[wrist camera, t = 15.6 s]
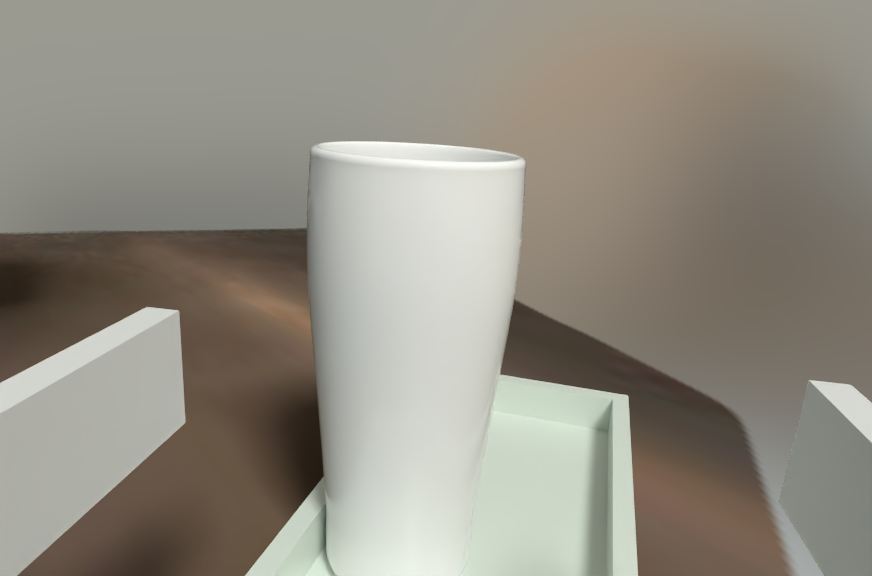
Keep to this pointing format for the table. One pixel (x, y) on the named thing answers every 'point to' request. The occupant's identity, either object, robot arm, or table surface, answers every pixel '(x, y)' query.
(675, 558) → the table surface
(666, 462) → the table surface
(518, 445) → the tray
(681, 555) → the table surface
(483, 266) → the drinking glass
